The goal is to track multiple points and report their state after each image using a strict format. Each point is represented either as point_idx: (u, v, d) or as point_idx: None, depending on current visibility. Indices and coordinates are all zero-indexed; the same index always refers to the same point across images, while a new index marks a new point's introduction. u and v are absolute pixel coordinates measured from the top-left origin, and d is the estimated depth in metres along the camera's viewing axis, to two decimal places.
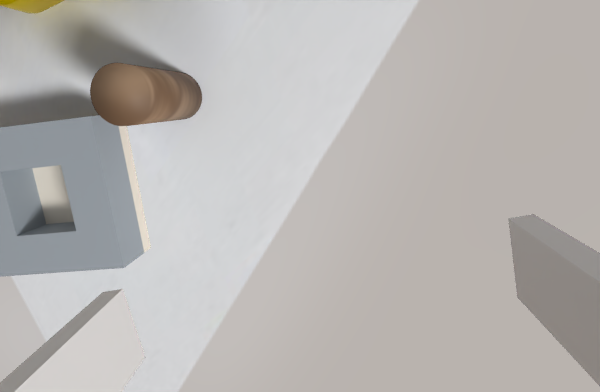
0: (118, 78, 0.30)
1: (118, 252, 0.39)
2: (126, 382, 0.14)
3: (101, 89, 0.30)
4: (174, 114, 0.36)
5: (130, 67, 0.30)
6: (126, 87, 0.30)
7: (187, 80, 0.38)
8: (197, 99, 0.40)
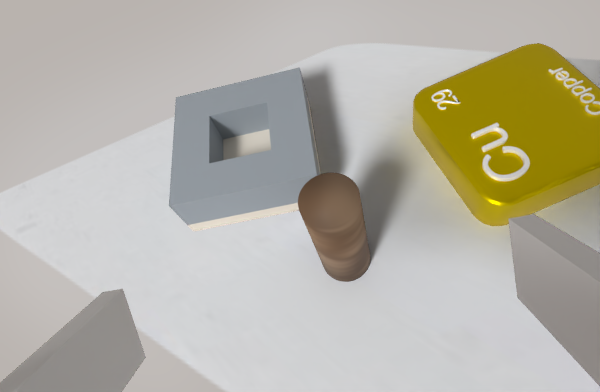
0: (344, 197, 0.30)
1: (184, 200, 0.39)
2: (126, 382, 0.14)
3: (333, 182, 0.30)
4: (320, 253, 0.34)
5: (356, 209, 0.29)
6: (336, 205, 0.29)
7: (360, 266, 0.36)
8: (342, 276, 0.37)
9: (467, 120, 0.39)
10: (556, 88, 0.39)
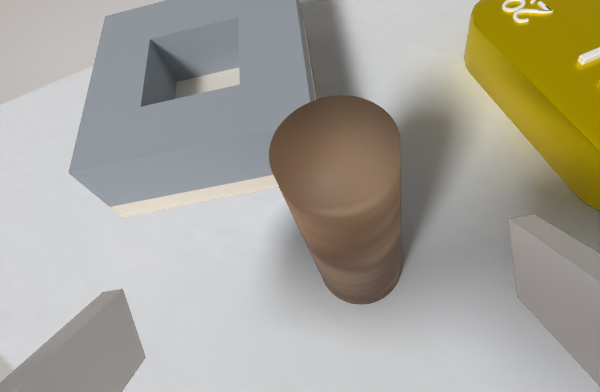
0: (366, 143, 0.14)
1: (93, 164, 0.24)
2: (126, 382, 0.14)
3: (343, 113, 0.15)
4: (316, 257, 0.19)
5: (392, 165, 0.13)
6: (349, 158, 0.14)
7: (386, 280, 0.20)
8: (354, 297, 0.21)
9: (568, 37, 0.23)
10: None
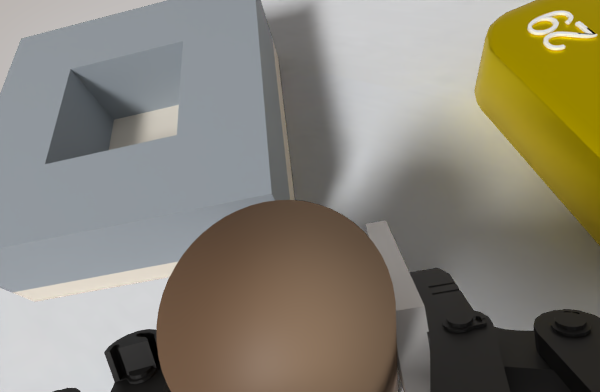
0: (332, 304, 0.07)
1: None
2: None
3: (293, 237, 0.08)
4: None
5: (381, 361, 0.07)
6: (299, 337, 0.07)
7: None
8: None
9: None
10: None
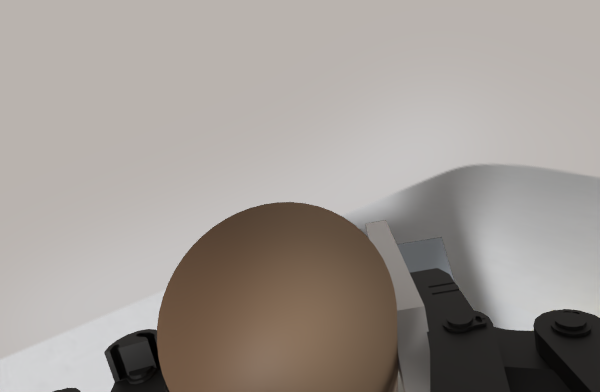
0: (333, 308, 0.07)
1: None
2: None
3: (294, 240, 0.08)
4: None
5: (382, 365, 0.07)
6: (300, 340, 0.07)
7: None
8: None
9: None
10: None
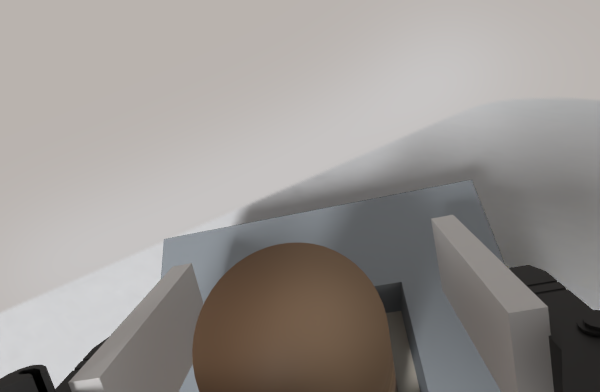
0: (337, 334, 0.09)
1: None
2: None
3: (304, 276, 0.10)
4: None
5: (377, 382, 0.08)
6: (310, 362, 0.09)
7: None
8: None
9: None
10: None
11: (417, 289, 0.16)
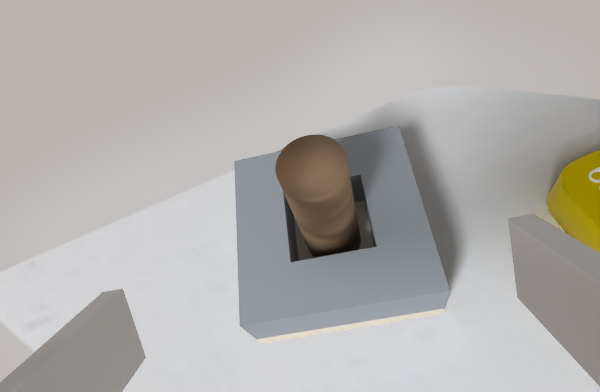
0: (328, 162, 0.26)
1: (261, 319, 0.29)
2: (126, 382, 0.14)
3: (316, 145, 0.26)
4: (303, 230, 0.30)
5: (342, 174, 0.25)
6: (319, 170, 0.25)
7: (348, 246, 0.32)
8: None
9: None
10: None
11: (368, 177, 0.33)
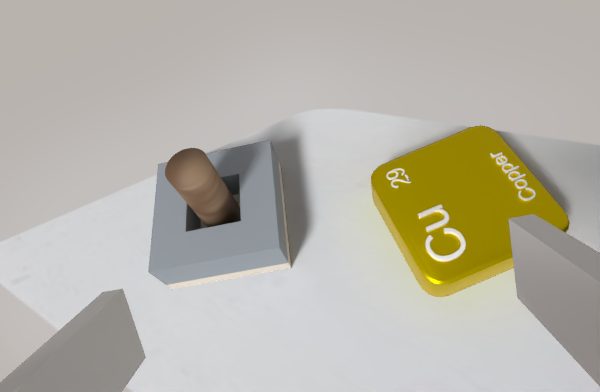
0: (197, 165, 0.41)
1: (162, 267, 0.44)
2: (126, 382, 0.14)
3: (192, 155, 0.42)
4: (193, 210, 0.45)
5: (203, 173, 0.40)
6: (190, 170, 0.41)
7: (228, 222, 0.47)
8: None
9: (416, 199, 0.44)
10: (495, 172, 0.44)
11: (243, 175, 0.48)
